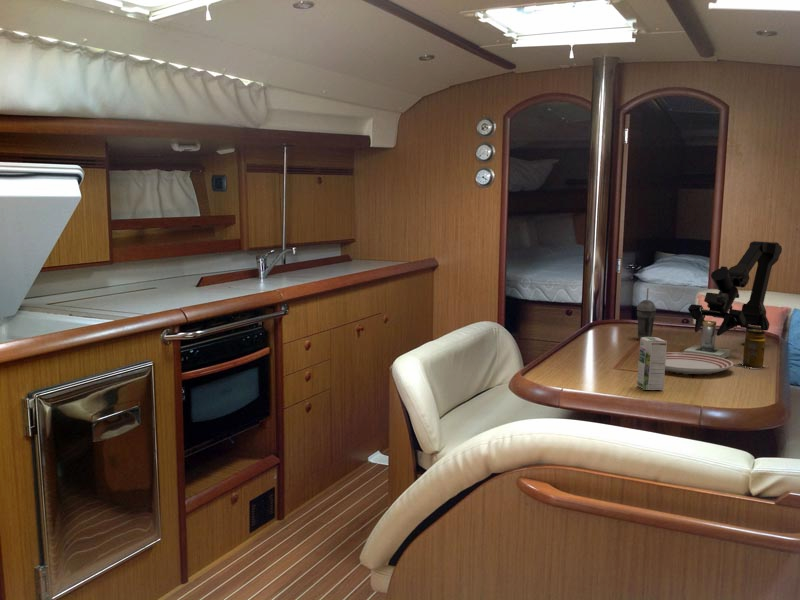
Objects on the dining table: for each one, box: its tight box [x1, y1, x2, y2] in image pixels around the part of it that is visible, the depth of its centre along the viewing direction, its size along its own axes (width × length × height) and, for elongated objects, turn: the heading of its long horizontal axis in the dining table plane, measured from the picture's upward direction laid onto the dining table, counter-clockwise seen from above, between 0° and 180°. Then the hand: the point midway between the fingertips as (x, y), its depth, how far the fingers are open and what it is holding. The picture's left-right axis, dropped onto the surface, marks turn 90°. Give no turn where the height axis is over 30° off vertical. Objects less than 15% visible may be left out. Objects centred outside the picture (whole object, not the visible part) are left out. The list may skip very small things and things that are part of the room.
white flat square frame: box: [683, 344, 731, 359], centre depth 256 cm, size 12×12×2 cm
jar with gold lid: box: [700, 320, 717, 353], centre depth 256 cm, size 4×4×12 cm
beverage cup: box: [636, 288, 657, 341], centre depth 282 cm, size 7×7×20 cm
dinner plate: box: [665, 351, 734, 375], centre depth 236 cm, size 27×27×3 cm
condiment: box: [733, 329, 769, 370], centre depth 240 cm, size 7×8×12 cm
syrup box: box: [636, 336, 668, 391], centre depth 209 cm, size 6×6×14 cm
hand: (706, 333), depth 255 cm, fingers open, 8 cm apart
